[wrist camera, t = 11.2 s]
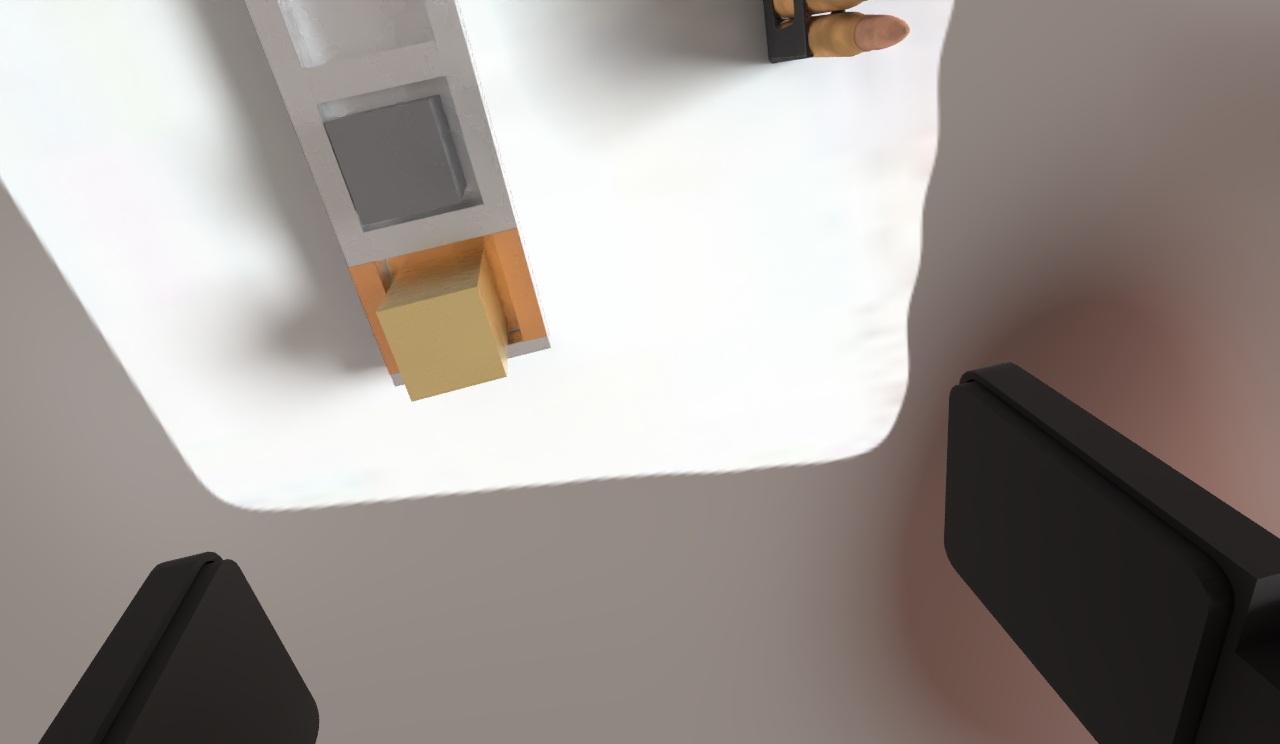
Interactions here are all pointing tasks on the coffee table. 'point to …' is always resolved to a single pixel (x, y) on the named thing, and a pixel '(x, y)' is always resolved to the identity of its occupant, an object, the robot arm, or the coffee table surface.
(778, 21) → the ammunition clip
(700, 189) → the coffee table surface
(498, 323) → the gold brushed block
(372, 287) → the rail
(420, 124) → the grey brushed cube
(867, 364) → the coffee table surface
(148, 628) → the robot arm
